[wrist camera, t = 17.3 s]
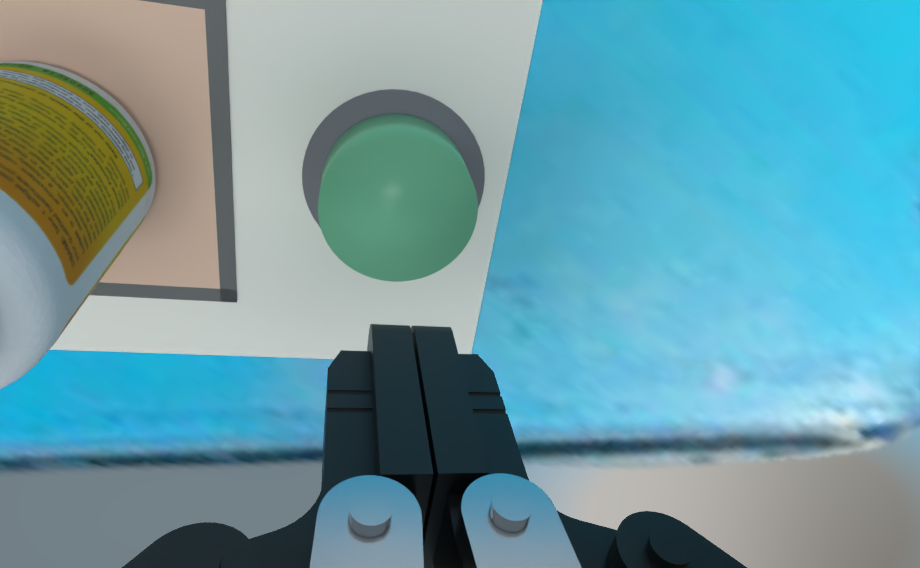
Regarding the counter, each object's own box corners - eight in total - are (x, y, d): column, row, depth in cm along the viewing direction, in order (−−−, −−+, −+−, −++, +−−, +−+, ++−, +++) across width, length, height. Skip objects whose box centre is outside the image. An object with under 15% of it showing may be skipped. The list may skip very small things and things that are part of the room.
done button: (319, 245, 19) (315, 277, 17) (324, 105, 17) (320, 126, 15) (455, 254, 20) (464, 285, 18) (478, 123, 18) (490, 144, 16)
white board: (-65, 330, 20) (-82, 347, 19) (-249, -202, 13) (-288, -209, 12) (466, 350, 23) (469, 365, 23) (546, -57, 16) (555, -56, 16)
